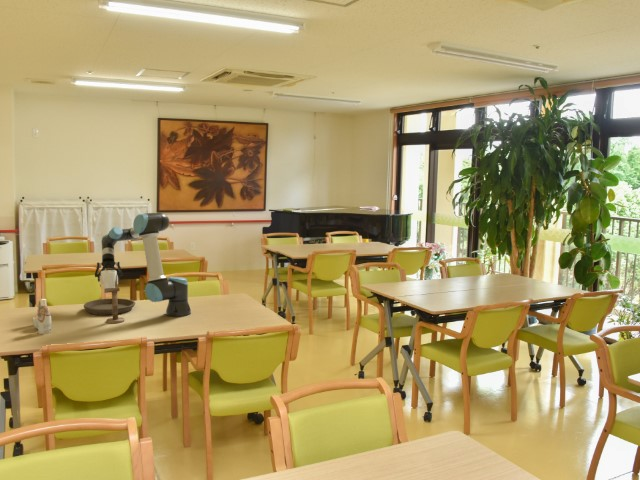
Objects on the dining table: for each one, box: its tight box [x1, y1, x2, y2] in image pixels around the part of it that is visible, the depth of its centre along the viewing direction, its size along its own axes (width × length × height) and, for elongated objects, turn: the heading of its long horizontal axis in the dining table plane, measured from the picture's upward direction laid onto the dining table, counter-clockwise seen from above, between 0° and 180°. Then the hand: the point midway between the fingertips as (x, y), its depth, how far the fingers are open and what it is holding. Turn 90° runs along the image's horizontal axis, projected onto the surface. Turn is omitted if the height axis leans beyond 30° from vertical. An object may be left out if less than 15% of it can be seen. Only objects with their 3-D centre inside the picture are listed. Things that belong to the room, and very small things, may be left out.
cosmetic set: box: [32, 298, 52, 335], centre depth 330 cm, size 25×9×19 cm, turn 32°
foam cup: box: [100, 269, 118, 293], centre depth 372 cm, size 10×9×13 cm
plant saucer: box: [83, 297, 136, 316], centre depth 374 cm, size 31×31×5 cm
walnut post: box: [103, 286, 125, 325], centre depth 347 cm, size 10×10×20 cm
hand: (109, 285), depth 370 cm, fingers closed on foam cup, 9 cm apart
